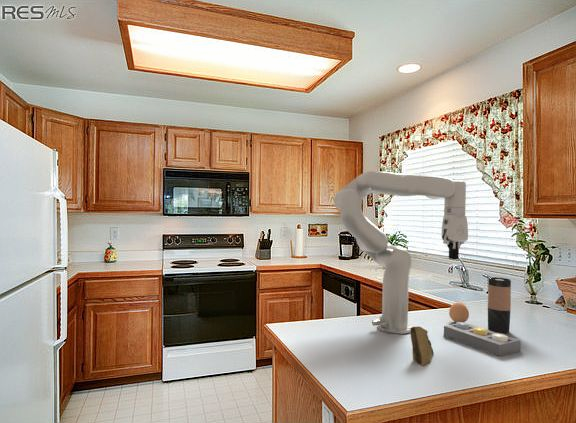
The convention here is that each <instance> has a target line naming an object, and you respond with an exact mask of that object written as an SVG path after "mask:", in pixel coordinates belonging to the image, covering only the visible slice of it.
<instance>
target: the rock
mask: <svg viewBox="0 0 576 423" xmlns="http://www.w3.org/2000/svg"><path fill="white" fill-rule="evenodd" d="M411 327H412V326H411ZM410 331H411V332H410V340H411V346H412V347H411V348H412V351H411V352H412V360H413V361H414V362H416V363H417V364H418V365H420V366H422V367H425V365H427V364H430V363H431V361H432V358H433V357H432V356H433V355H434V354H435V352H434V349H433V347H432V342H431V340H430V339H429V335H428V333H429V331H428V330H427V329H425V328H423V327H421V326H413V327H412V328H410Z"/></svg>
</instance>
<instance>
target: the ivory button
mask: <svg viewBox="0 0 576 423" xmlns="http://www.w3.org/2000/svg"><path fill="white" fill-rule="evenodd" d="M507 336H508V335H505V334H503V333H499V334H492V339H493V340H496V341H499V342H502V343H504V342H508V337H507Z"/></svg>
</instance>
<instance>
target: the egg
mask: <svg viewBox="0 0 576 423" xmlns="http://www.w3.org/2000/svg"><path fill="white" fill-rule="evenodd" d="M448 312H449V317H450V318H449V319H451V320H452V321H453V322H454V323H456V322H464V323H467V321H468V320H469V316H470V312H469V308H468V307H467V306H466V305H465V304H464V303H463V302H459V301H457V302H454V303H452V304H451V306H450V307H449V311H448Z"/></svg>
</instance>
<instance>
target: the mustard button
mask: <svg viewBox="0 0 576 423" xmlns="http://www.w3.org/2000/svg"><path fill="white" fill-rule="evenodd" d="M473 333H475V334H478V335H481V336H485V335H488V329H486V328H484V327H480V328H473Z"/></svg>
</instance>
